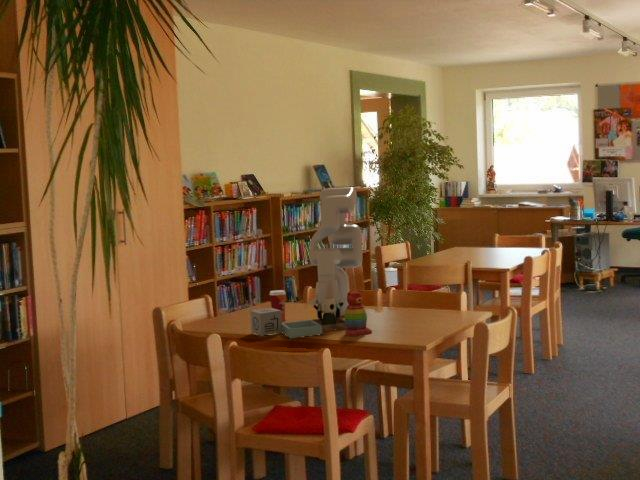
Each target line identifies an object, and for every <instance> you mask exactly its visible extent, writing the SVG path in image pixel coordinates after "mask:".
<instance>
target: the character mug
mask: <svg viewBox="0 0 640 480" xmlns="http://www.w3.org/2000/svg"><path fill="white" fill-rule="evenodd" d="M321 306H322V308H321V311H322V319H323V320H322V324H321V325H330V324H337V323H336V319H335V317H336V316H335V315H334V312H336V310H337V309H336V302H335V298H331V299H323V304H322V305H321Z"/></svg>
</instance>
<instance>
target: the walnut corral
mask: <svg viewBox="0 0 640 480" xmlns="http://www.w3.org/2000/svg"><path fill="white" fill-rule="evenodd" d="M335 319H336V324H330V325H322V320H323V318H322V320H320V319H319V318H315V319H312V320H313V321H314V322H316V323H318V324H321V325H322V331H323V332H327V331H326V330H331V331H336V330H335V329H340V330H346V329H347V327H346V323H345V319H342V318H340V317H339V318H337V317H336V316H335Z"/></svg>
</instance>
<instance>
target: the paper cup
mask: <svg viewBox="0 0 640 480" xmlns="http://www.w3.org/2000/svg"><path fill="white" fill-rule="evenodd" d="M286 294H287V293H286V291H285V290H283V289H280V290H278V289H277V290H270V291H269V294H268V295H269V299H270V306H271V307H270V308H274V309H277V310H281V316H282V321H283V322H285V321H286Z"/></svg>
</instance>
